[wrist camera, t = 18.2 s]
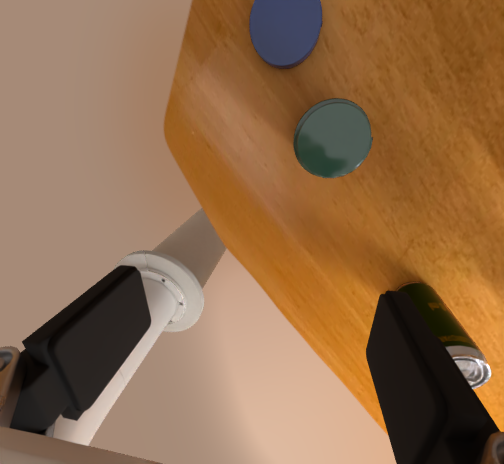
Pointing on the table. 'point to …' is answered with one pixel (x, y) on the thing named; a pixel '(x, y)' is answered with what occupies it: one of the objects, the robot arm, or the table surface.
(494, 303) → the table surface
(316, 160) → the jam jar
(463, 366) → the beer can
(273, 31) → the lid
